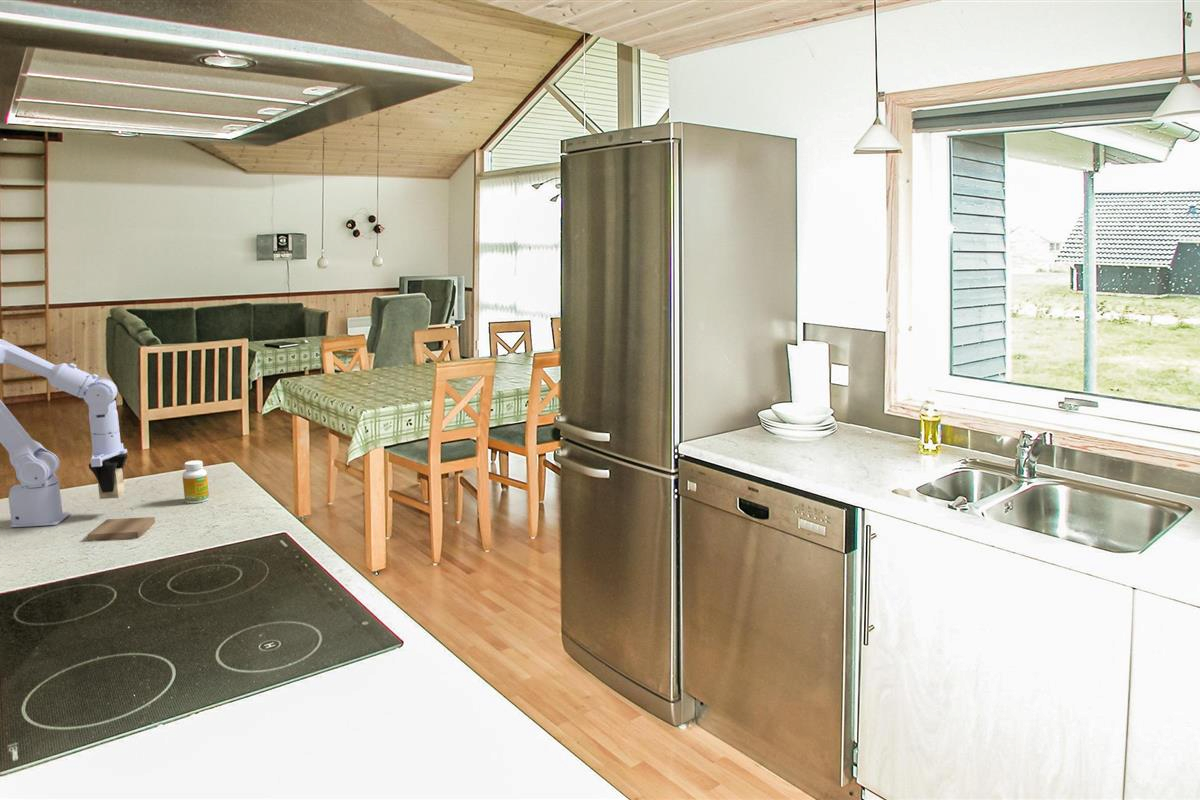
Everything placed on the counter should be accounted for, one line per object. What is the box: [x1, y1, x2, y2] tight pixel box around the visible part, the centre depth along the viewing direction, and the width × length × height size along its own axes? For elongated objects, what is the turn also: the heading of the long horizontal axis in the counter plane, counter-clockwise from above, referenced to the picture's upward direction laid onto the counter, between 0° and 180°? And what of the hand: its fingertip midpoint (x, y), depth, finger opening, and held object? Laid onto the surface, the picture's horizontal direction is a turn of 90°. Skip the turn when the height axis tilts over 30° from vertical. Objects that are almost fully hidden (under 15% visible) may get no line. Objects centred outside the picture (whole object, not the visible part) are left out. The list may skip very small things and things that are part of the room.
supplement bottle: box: [182, 459, 210, 504], centre depth 209 cm, size 5×5×10 cm
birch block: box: [97, 468, 125, 500], centre depth 198 cm, size 4×4×6 cm
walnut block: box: [87, 516, 156, 541], centre depth 188 cm, size 10×10×2 cm
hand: (111, 489), depth 198 cm, fingers closed on birch block, 4 cm apart
